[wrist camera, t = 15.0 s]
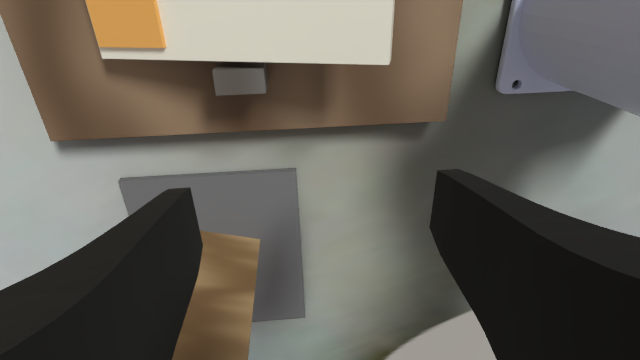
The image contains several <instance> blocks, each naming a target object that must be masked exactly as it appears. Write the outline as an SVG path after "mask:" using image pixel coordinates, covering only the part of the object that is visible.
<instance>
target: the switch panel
mask: <svg viewBox="0 0 640 360" xmlns="http://www.w3.org/2000/svg"><path fill="white" fill-rule="evenodd" d="M462 4H463V0H395V5H394V21H393V37H392V53H391V61H390V64H389V65H364V64H320V63H275V62H230V61H186V60H141V59H102V56H101V53H100V49H99V46H98V42H97V39H96V36H95V32H94V29H93V25H92V22H91V18H90V15H89V12H88V8H87V5H86V1H85V0H0V14H1V17H2V19H3V22H4V24H5V27H6V29H7V32H8V34H9V37H10V39H11V42H12V44H13V47H14V50H15V52H16V55H17V57H18V60H19V62H20V65H21V67H22V70H23V72H24V75H25V77H26V80H27V82H28V85H29V87H30V90H31V92H32V95H33V97H34V100H35V102H36V105H37V108H38V110H39V113H40V115H41V118H42V120H43V123H44V125H45V128H46V130H47V133H48V135H49V138H50V140H51V141H64V140H83V139H103V138H122V137H142V136H162V135H181V134H201V133H221V132H240V131H260V130H279V129H299V128H319V127H338V126H358V125H377V124H397V123H417V122H436V121H446V117H447V110H448V103H449V96H450V89H451V82H452V75H453V68H454V61H455V54H456V47H457V40H458V33H459V25H460V18H461V11H462Z"/></svg>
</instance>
